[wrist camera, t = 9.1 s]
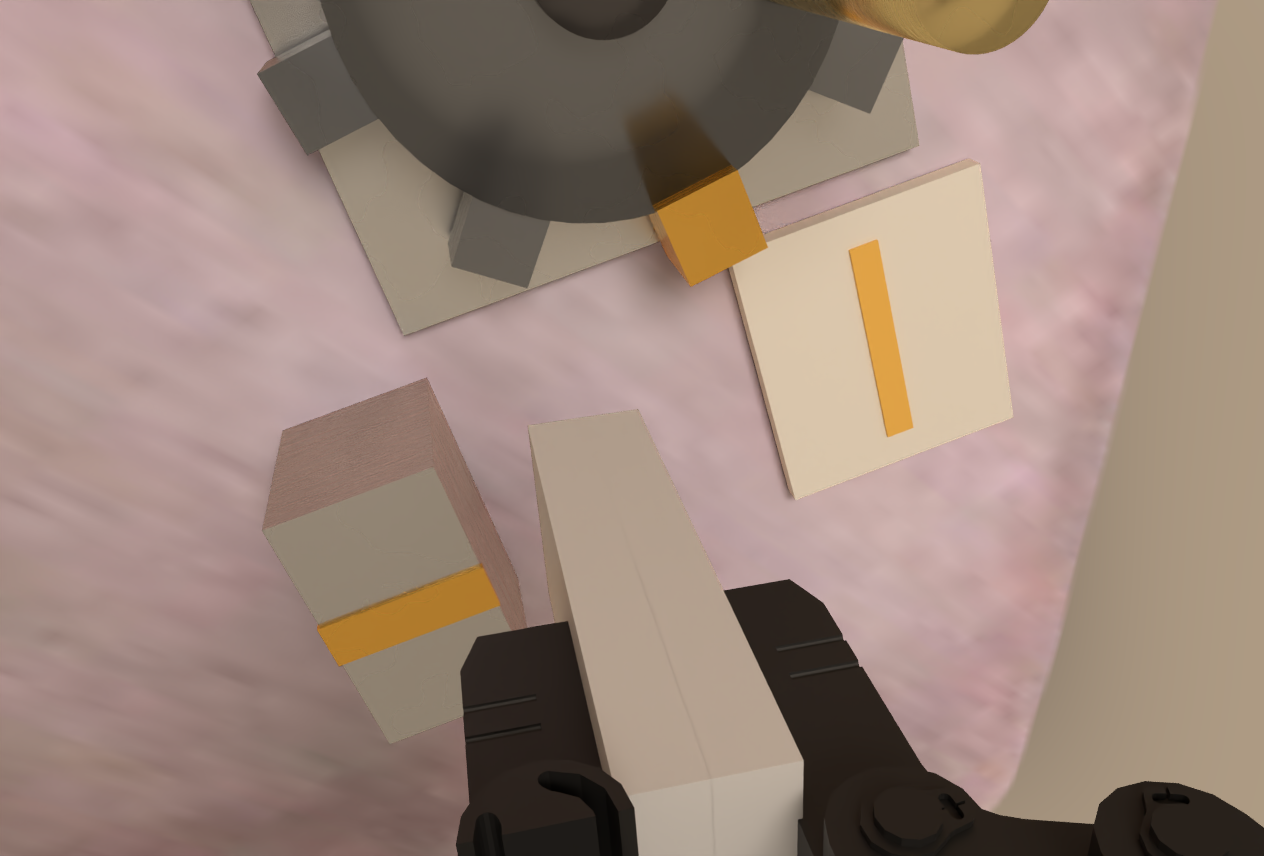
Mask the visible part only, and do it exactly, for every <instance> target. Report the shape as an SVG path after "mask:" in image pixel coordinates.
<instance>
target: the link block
mask: <svg viewBox="0 0 1264 856" xmlns="http://www.w3.org/2000/svg"><path fill="white" fill-rule="evenodd" d="M262 531H263V533H264V535H265V536H266V538H267V540H268V541H269V543H270V545H271V546H272V548H273V550H274V552H275V553H276V555H277V557H278V558H279V560H280V562H281V563H282V565H283V567H284V568H285V570H286V572H287V573H288V575H289V577H290V578H291V580H292V582H293V583H294V585H295V587H296V588H297V590H298V592H299V593H300V595H301V597H302V598H303V600H304V602H305V603H306V605H307V607H308V608H309V610H310V612H311V613H312V615H313V617H314V618H315V620H316V622H317V623H318V626H317V631H318V632H319V634H320V636H321V637H322V639H323V641H324V642H325V644H326V646H327V647H328V649H329V651H330V652H331V654H332V656H333V657H334V659H335V661H336V662H337V664H338V666H342V665H343V667H344V669H345V670H346V672H347V674H348V675H349V677H350V679H351V680H352V682H353V684H354V685H355V687H356V689H357V690H358V692H359V694H360V695H361V697H362V699H363V700H364V702H365V704H366V705H367V707H368V709H369V710H370V712H371V714H372V715H373V717H374V719H375V720H376V722H377V724H378V725H379V727H380V729H381V730H382V732H383V734H384V735H385V737H386V739H387V740H388V742H389V744H392V743H395V742H397V741H400V740H403V739H405V738H408V737H410V736H413V735H416V734H418V733H421V732H423V731H426V730H429V729H431V728H434V727H437V726H439V725H442V724H444V723H447V722H450V721H452V720H455V719H458V718H460V717H463V714H464V713H463V704H462V690H461V676H460V670H461V668H462V666H463V664H464V662H465V660H466V658H467V656H468V654H469V652H470V650H471V648H472V646H473V644H474V642H475V640H476V638H477V637H479V636H484V635H490V634H496V633H502V632H507V631H513V630H519V629H524V628H527V625H526V620H525V614H524V609H523V603H522V598H521V592H520V587H519V582H518V577H517V575H516V573H515V570H514V568H513V566H512V564H511V562H510V559H509V557H508V555H507V553H506V551H505V548H504V546H503V544H502V542H501V540H500V537H499V535H498V533H497V531H496V529H495V526H494V524H493V522H492V520H491V517H490V515H489V513H488V511H487V509H486V506H485V504H484V502H483V500H482V498H481V495H480V493H479V491H478V489H477V487H476V484H475V482H474V480H473V478H472V476H471V473H470V471H469V469H468V467H467V465H466V462H465V460H464V458H463V456H462V454H461V451H460V449H459V447H458V445H457V443H456V440H455V438H454V436H453V434H452V432H451V429H450V427H449V425H448V423H447V421H446V418H445V416H444V414H443V412H442V410H441V407H440V405H439V403H438V401H437V399H436V396H435V394H434V392H433V390H432V388H431V385H430V383H429V381H428V379H427V378H424V379H421V380H419V381H416V382H413V383H410V384H408V385H405V386H402V387H400V388H397V389H394V390H391V391H389V392H386V393H383V394H380V395H378V396H375V397H372V398H370V399H367V400H364V401H361V402H359V403H356V404H353V405H351V406H348V407H345V408H342V409H340V410H337V411H334V412H332V413H329V414H326V415H323V416H321V417H318V418H315V419H313V420H310V421H307V422H304V423H302V424H299V425H296V426H293V427H291V428H288V429H285V430H283V431H282V436H281V441H280V446H279V451H278V456H277V460H276V465H275V470H274V475H273V480H272V485H271V489H270V494H269V499H268V504H267V509H266V514H265V519H264V523H263V528H262Z"/></svg>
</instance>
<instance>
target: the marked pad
mask: <svg viewBox="0 0 1264 856" xmlns="http://www.w3.org/2000/svg"><path fill="white" fill-rule="evenodd" d="M763 236H764V238H765V241H766V243H767V246H768V248H766V249H764V250H762V251H761V252H759V253H757V254H755V255H753V256H751V257H749V258H747V259H745V260H743V261H741V262H739V263H737V264H735V265H733V266H731V267H729V272H730V275H731V279H732V283H733V286H734V290H735V294H736V297H737V301H738V305H739V308H740V312H741V316H742V320H743V323H744V327H745V331H746V334H747V338H748V342H749V345H750V349H751V353H752V356H753V360H754V364H755V367H756V371H757V375H758V379H759V382H760V386H761V390H762V393H763V397H764V401H765V404H766V408H767V412H768V415H769V419H770V423H771V426H772V430H773V434H774V438H775V441H776V445H777V449H778V452H779V456H780V460H781V463H782V467H783V471H784V474H785V478H786V482H787V485H788V489H789V491H790V493H791V494H792V496H793V497H794V499H795V500H797V499H800V498H803V497H805V496H808V495H811V494H813V493H816V492H818V491H821V490H824V489H826V488H829V487H832V486H834V485H837V484H839V483H842V482H845V481H847V480H850V479H853V478H855V477H858V476H860V475H863V474H866V473H868V472H871V471H874V470H876V469H879V468H881V467H884V466H887V465H889V464H892V463H895V462H897V461H900V460H903V459H905V458H908V457H910V456H913V455H916V454H918V453H921V452H924V451H926V450H929V449H931V448H934V447H937V446H939V445H942V444H945V443H947V442H950V441H952V440H955V439H958V438H960V437H963V436H966V435H968V434H971V433H973V432H976V431H979V430H981V429H984V428H987V427H989V426H992V425H994V424H997V423H1000V422H1002V421H1005V420H1008V419H1010V418H1013V411H1012V404H1011V396H1010V389H1009V381H1008V373H1007V366H1006V358H1005V350H1004V343H1003V335H1002V327H1001V320H1000V312H999V304H998V297H997V289H996V281H995V274H994V266H993V258H992V251H991V243H990V236H989V228H988V220H987V213H986V205H985V197H984V190H983V182H982V174H981V167H980V163H978V162H976V161H973V160H971V159H966V160H963V161H961V162H958V163H955V164H953V165H950V166H947V167H944V168H942V169H939V170H936V171H934V172H931V173H928V174H926V175H923V176H920V177H917V178H915V179H912V180H909V181H907V182H904V183H901V184H899V185H896V186H893V187H890V188H888V189H885V190H882V191H880V192H877V193H874V194H872V195H869V196H866V197H863V198H861V199H858V200H855V201H853V202H850V203H847V204H844V205H842V206H839V207H836V208H834V209H831V210H828V211H826V212H823V213H820V214H817V215H815V216H812V217H809V218H807V219H804V220H801V221H799V222H796V223H793V224H790V225H788V226H785V227H782V228H780V229H777V230H774V231H772V232H769V233H766V234H763Z"/></svg>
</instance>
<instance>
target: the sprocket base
mask: <svg viewBox="0 0 1264 856" xmlns="http://www.w3.org/2000/svg"><path fill="white" fill-rule="evenodd" d="M250 2H251V4H252V6H253V8H254V10H255V13H256V15H257V17H258V19H259V21H260V24H261V26H262V28H263V30H264V32H265V34H266V37H267V39H268V41H269V43H270V45H271V47H272V50H273V52H274V54H275V56H276V57H277V56H278V55H280V54H282V53H284V52H286V51H288V50H290V49H292V48H294V47H296V46H298V45H300V44H302V43H304V42H305V41H307V40H309V39H311V38H313V37H315V36H317V35H319V34H321V33H323V32H325V31H327V30H329V26H328V23H327V20H326V18H325V15H324V12H323V9H322V6H321V2H320V0H250ZM917 146H919V141H918V134H917V128H916V122H915V116H914V109H913V103H912V97H911V91H910V84H909V78H908V72H907V66H906V59H905V53H904V47H903V41H902V43H901V45H900V48H899V50H898V52H897V54H896V57H895V59H894V61H893V63H892V66H891V68H890V70H889V72H888V75H887V77H886V79H885V82H884V84H883V86H882V88H881V91H880V93H879V95H878V97H877V100H876V102H875V104H874V106H873V109H872V111H871V113H870V114H869V113H866V112H864V111H861V110H859V109H856V108H854V107H851V106H848V105H846V104H843V103H841V102H838V101H836V100H833V99H831V98H828V97H825V96H823V95H820V94H818V93H815V92H813V91H810V90H808V91H807V93H806V94H805V96H804V97H803V99H802V100H801V102H800V104H799V105H798V107H797V108H796V110H795V111H794V113H793V114H792V115H791V117H790V118H789V119H788V120H787V122H786V123H785V124H784V125H783V126H782V128H781V129H780V130H779V131H778V132H777V134H776V135H775V136H774V137H773V139H772V140H771V141H770V142H769V143H768V144H767V145H765V146H764V147H763V148H762V149H761V150H760V151H759V152H758V153H757V154H756V155H755V156H754V157H753V158H752V159H751V160H750V161H749V162H748V163H746V164H745V165H744V166H742V167H741V168H740V169H739V170H738V172H739V175H740V177H741V180H742V182H743V185H744V187H745V190H746V193H747V195H748V198H749V200H750V203H751V205H752V207H754V206H757V205H760V204H762V203H765V202H768V201H771V200H773V199H776V198H779V197H781V196H784V195H787V194H790V193H792V192H795V191H798V190H800V189H803V188H806V187H809V186H811V185H814V184H817V183H819V182H822V181H825V180H828V179H830V178H833V177H836V176H838V175H841V174H844V173H847V172H849V171H852V170H855V169H857V168H860V167H863V166H865V165H868V164H871V163H874V162H876V161H879V160H882V159H884V158H887V157H890V156H893V155H895V154H898V153H901V152H903V151H906V150H909V149H912V148H914V147H917ZM319 152H320V154H321V156H322V158H323V161H324V163H325V165H326V167H327V169H328V171H329V174H330V176H331V178H332V180H333V182H334V185H335V187H336V189H337V191H338V193H339V195H340V198H341V200H342V202H343V204H344V206H345V208H346V211H347V213H348V215H349V217H350V219H351V222H352V224H353V226H354V228H355V230H356V232H357V235H358V237H359V239H360V241H361V243H362V245H363V248H364V250H365V252H366V254H367V256H368V258H369V261H370V263H371V265H372V267H373V269H374V272H375V274H376V276H377V278H378V280H379V282H380V285H381V287H382V289H383V291H384V293H385V295H386V298H387V300H388V302H389V304H390V306H391V309H392V311H393V313H394V315H395V317H396V319H397V322H398V324H399V326H400V328H401V330H402V332H403V335H404V336H405V335H407V334H410V333H413V332H415V331H418V330H421V329H424V328H426V327H429V326H432V325H434V324H437V323H440V322H443V321H445V320H448V319H451V318H453V317H456V316H459V315H461V314H464V313H467V312H470V311H472V310H475V309H478V308H480V307H483V306H486V305H489V304H491V303H494V302H497V301H499V300H502V299H505V298H508V297H510V296H513V295H516V294H518V293H521V292H524V291H527V290H529V289H532V288H535V287H537V286H540V285H543V284H546V283H548V282H551V281H554V280H556V279H559V278H562V277H565V276H567V275H570V274H573V273H575V272H578V271H581V270H584V269H586V268H589V267H592V266H594V265H597V264H600V263H602V262H605V261H608V260H611V259H613V258H616V257H619V256H621V255H624V254H627V253H630V252H632V251H635V250H638V249H640V248H643V247H646V246H649V245H651V244H654V243H657V242H659V241H660V240H659V237H658V235H657V233H656V231H655V229H654V226H653V224H652V222H651V220H650V218H649V215H646V216H642V217H639V218H635V219H628V220H621V221H614V222H608V223H565V222H556V221H550V224H549V227H548V230H547V233H546V236H545V239H544V242H543V245H542V248H541V251H540V253H539V256H538V259H537V262H536V265H535V268H534V271H533V274H532V277H531V280H530V283H529V286H528V289H527V288H524V287H521V286H517V285H514V284H510V283H507V282H503V281H500V280H496V279H493V278H489V277H486V276H482V275H479V274H475V273H472V272H468V271H465V270H461V269H458V268H454V267H451V261H450V255H449V248H448V241H449V237H450V234H451V231H452V227H453V224H454V221H455V217H456V214H457V211H458V207H459V204H460V201H461V198H462V194H463V191H462V190H460V189H459V188H457V187H455V186H453V185H451V184H449V183H448V182H447V181H445V180H444V179H443V178H441V177H440V176H438V175H437V174H436V173H434V172H433V171H432V170H430V169H429V168H427V167H426V166H425V165H423V164H422V163H421V162H420V161H419V160H418V159H417V158H415V157H414V156H413V155H412V154H411V153H410V152H409V151H408V150H407V149H406V148H405V147H404V146H403V145H402V144H401V143H400V142H398V141H397V140H396V139H395V138H394V136H393V135H392V134H391V133H390V132H389V130H388V129H387V128H386V127H385V126H384V124H383V123H382V122H381V121H380V119H377V120H375V121H373V122H371V123H370V124H368V125H366V126H364V127H362V128H360V129H358V130H356V131H354V132H352V133H350V134H348V135H346V136H344V137H342V138H340V139H338V140H337V141H335V142H333V143H331V144H329V145H327V146H325V147H323V148H321V149H319Z"/></svg>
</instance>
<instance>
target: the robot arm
mask: <svg viewBox="0 0 1264 856" xmlns="http://www.w3.org/2000/svg"><path fill="white" fill-rule="evenodd" d="M528 432H529V440H530V448H531V456H532V464H533V472H534V480H535V488H536V496H537V504H538V511H539V519H540V527H541V535H542V543H543V551H544V559H545V567H546V575H547V583H548V591H549V596H550V601H551V606H552V611H553V615H554V620H555V623H553V624H547V625H542V626H536V627H530V628H524V629H519V630H513V631H507V632H502V633H496V634H490V635H484V636H479V637H477V638H476V640H475V642H474V644H473V646H472V648H471V650H470V652H469V654H468V656H467V658H466V660H465V662H464V664H463V666H462V668H461V670H460V676H461V690H462V704H463V713H464V714H463V718H464V732H465V742H466V745H465V746H466V760H467V774H468V788H469V802H470V804H469V806H468V807H467V809H466V810H465V812H464V813H463V814H462V816H461V820H460V825H459V831H458V836H457V842H456V847H457V852H458V856H1264V828H1263V827H1262V826H1261V825H1259V824H1258V823H1257V822H1255V821H1254V820H1253V819H1252V818H1250V817H1249V816H1248V815H1246V814H1245V813H1243V812H1242V811H1240V810H1238V809H1237V808H1235V807H1233V806H1231V805H1230V804H1228V803H1226V802H1225V801H1223V800H1221V799H1219V798H1218V797H1216V796H1215V795H1213V794H1209V793H1206V792H1203V791H1200V790H1197V789H1194V788H1191V787H1188V786H1185V785H1182V784H1179V783H1164V782H1149V781H1148V782H1147V781H1144V782H1140V783H1136V784H1132V785H1128V786H1125V787H1120V788H1117V789H1116V790H1115V791H1114V792H1113V793H1111V794H1110V795H1109V796H1108V797H1107V798H1106V799H1104V800H1103V801H1102V802H1101V803H1100V804H1099V807H1098V811H1097V815H1096V819H1095V823H1094V824H1084V823H1083V824H1082V823H1069V822H1055V821H1042V820H1028V819H1020V818H1014V817H1008V816H1001V815H998V814H995V813H992V812H989V811H986V810H983V809H981V808H980V807H979V806H978V805H977V804H976V803H975V801H974V800H973V799H972V798H971V797H970V796H969V795H968V794H967V793H966V792H965V791H964V790H963V789H962V788H960V787H959V786H957V785H955V784H953V783H951V782H950V781H948V780H946V779H944V778H943V777H941V776H939V775H937V774H935V773H932V772H927V770H926V769H925V768H924V767H923V765H922V764H921V763H920V761H919V759H918V758H917V756H916V754H915V753H914V751H913V750H912V748H911V746H910V745H909V743H908V741H907V740H906V738H905V736H904V735H903V733H902V731H901V730H900V728H899V727H898V725H897V723H896V722H895V720H894V718H893V717H892V715H891V713H890V712H889V710H888V708H887V707H886V705H885V704H884V702H883V700H882V699H881V697H880V695H879V694H878V692H877V690H876V689H875V687H874V685H873V684H872V682H871V680H870V679H869V677H868V676H867V674H866V672H865V671H864V669H863V667H859V664H858V659H857V657H856V656H855V654H854V653H853V651H852V649H851V648H850V646H849V644H848V643H847V641H844V640H843V636H842V633H841V631H840V630H839V628H838V626H837V625H836V623H835V621H834V620H833V618H832V616H831V615H830V613H829V611H828V610H827V608H826V607H825V605H824V603H823V602H821V601H820V600H818V599H817V598H815V597H814V596H813V595H811V594H810V593H808V592H807V591H806V590H804V589H803V588H801V587H800V586H798V585H797V584H796V583H794V582H793V581H791V580H790V579H788V580H782V581H776V582H771V583H765V584H759V585H753V586H748V587H742V588H736V589H730V590H725V591H724V590H723V588H722V586H721V584H720V582H719V580H718V578H717V576H716V574H715V571H714V569H713V567H712V565H711V563H710V561H709V559H708V557H707V554H706V552H705V550H704V548H703V546H702V544H701V542H700V540H699V537H698V535H697V533H696V531H695V529H694V527H693V525H692V523H691V520H690V518H689V516H688V514H687V512H686V510H685V508H684V506H683V503H682V501H681V499H680V497H679V495H678V493H677V491H676V489H675V487H674V484H673V482H672V480H671V478H670V476H669V474H668V472H667V470H666V467H665V465H664V463H663V461H662V459H661V457H660V455H659V453H658V450H657V448H656V446H655V444H654V442H653V440H652V438H651V436H650V433H649V431H648V429H647V427H646V425H645V423H644V421H643V419H642V416H641V414H640V412H639V410H638V409H637V410H630V411H623V412H616V413H609V414H602V415H596V416H589V417H582V418H575V419H568V420H561V421H555V422H548V423H541V424H534V425H528Z"/></svg>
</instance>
